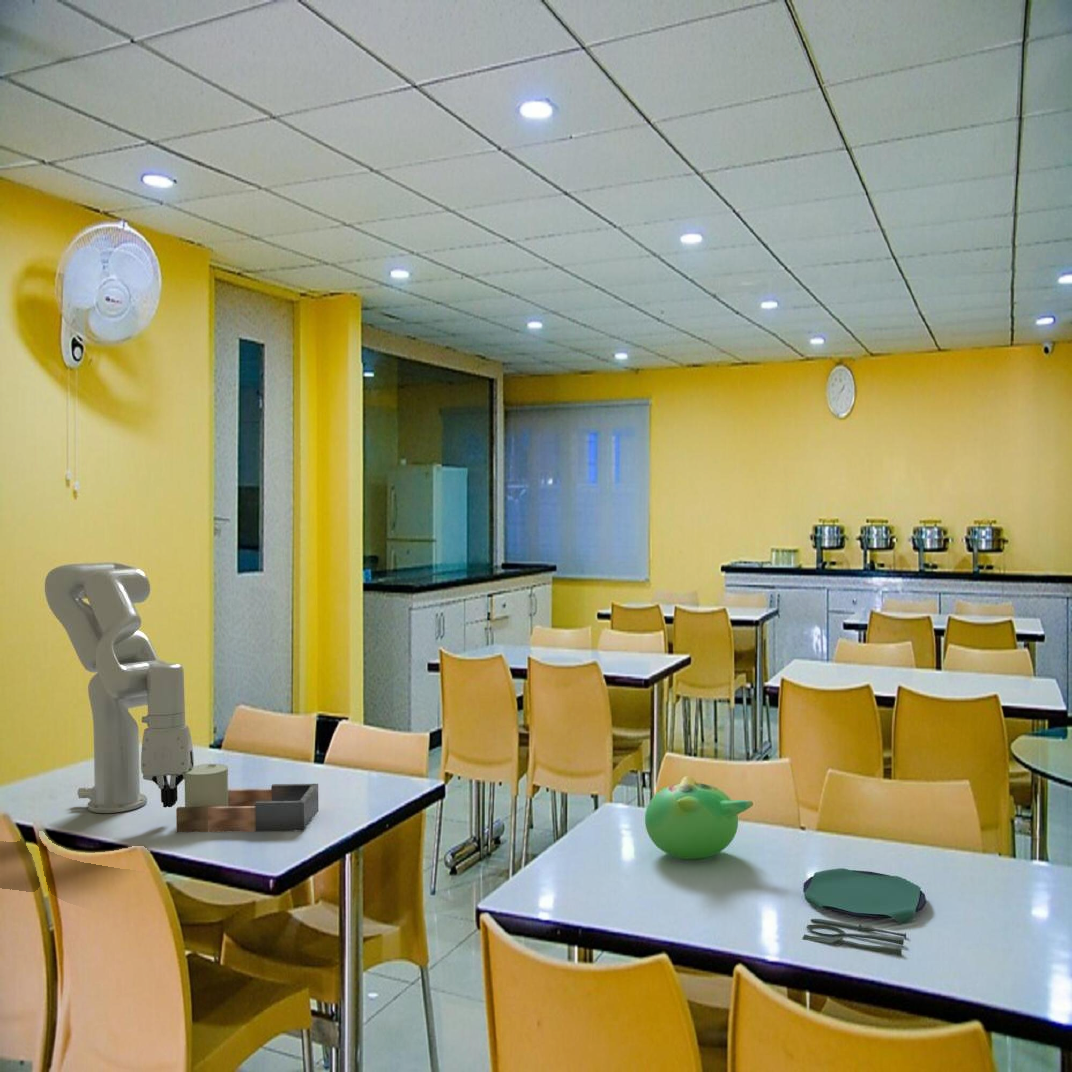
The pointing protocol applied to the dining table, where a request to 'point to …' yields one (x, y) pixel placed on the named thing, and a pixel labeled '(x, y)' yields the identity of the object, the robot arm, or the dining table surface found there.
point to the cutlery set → (862, 904)
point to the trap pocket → (287, 808)
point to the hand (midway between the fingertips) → (169, 805)
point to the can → (206, 786)
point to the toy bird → (693, 819)
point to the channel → (223, 813)
